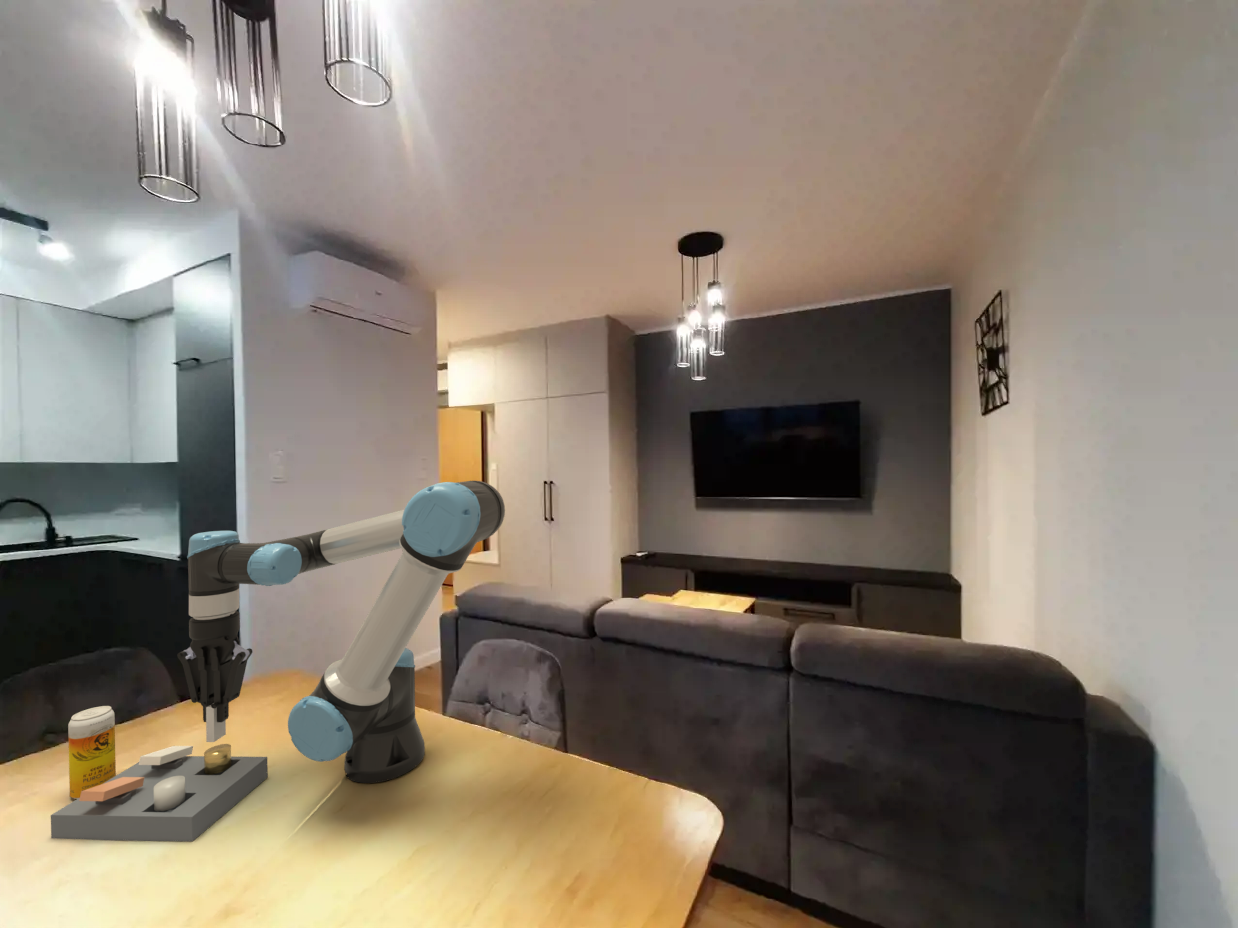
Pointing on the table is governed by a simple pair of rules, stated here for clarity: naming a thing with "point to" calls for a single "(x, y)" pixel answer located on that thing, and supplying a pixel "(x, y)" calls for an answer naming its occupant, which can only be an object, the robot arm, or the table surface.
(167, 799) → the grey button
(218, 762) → the gold rounded piece
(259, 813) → the table surface
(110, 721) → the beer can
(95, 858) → the table surface
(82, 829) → the grey slotted tray
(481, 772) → the table surface
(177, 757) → the white rocker
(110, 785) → the terracotta rocker
